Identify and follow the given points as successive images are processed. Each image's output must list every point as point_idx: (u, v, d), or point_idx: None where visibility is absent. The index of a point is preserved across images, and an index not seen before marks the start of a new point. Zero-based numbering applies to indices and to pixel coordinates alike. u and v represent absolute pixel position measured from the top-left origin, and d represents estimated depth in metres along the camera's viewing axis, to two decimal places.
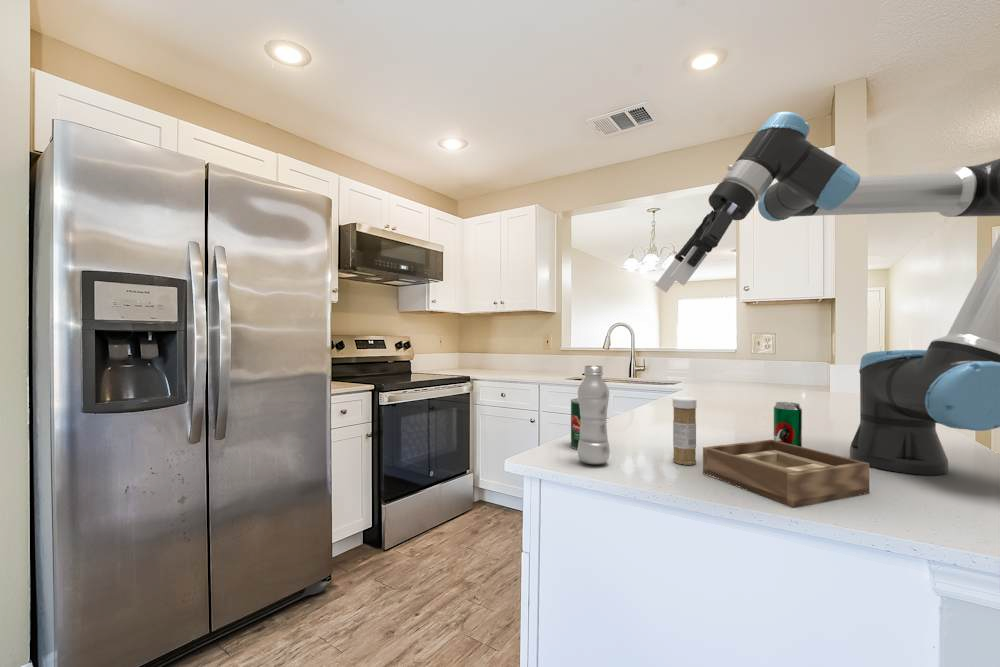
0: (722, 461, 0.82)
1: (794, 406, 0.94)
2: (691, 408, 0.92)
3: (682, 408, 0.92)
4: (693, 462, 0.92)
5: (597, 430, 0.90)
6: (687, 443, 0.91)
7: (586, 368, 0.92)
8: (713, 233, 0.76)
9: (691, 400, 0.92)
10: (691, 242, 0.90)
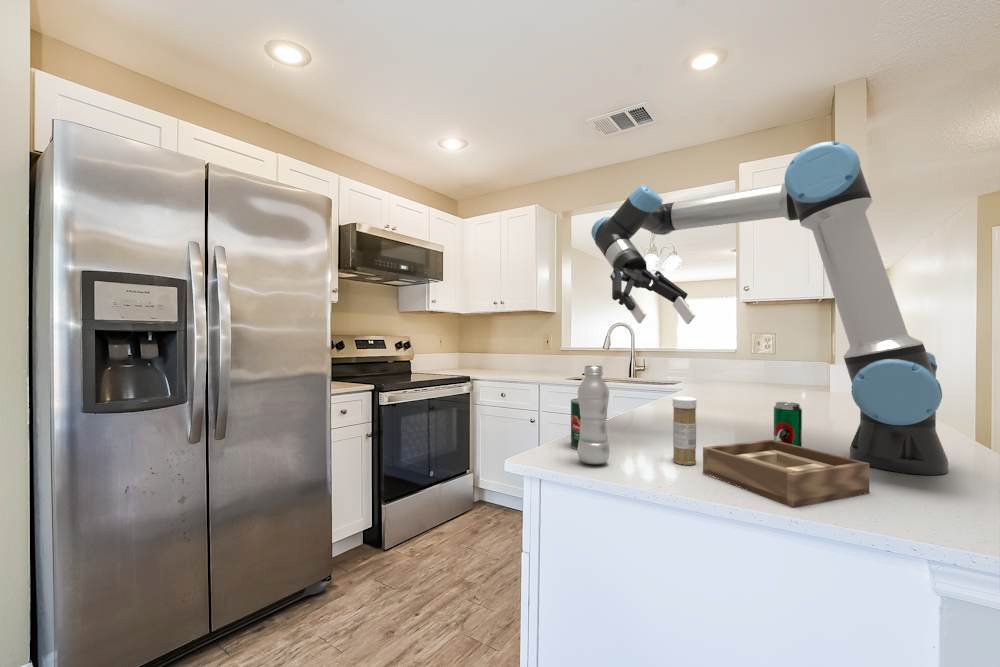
0: (722, 461, 0.82)
1: (794, 406, 0.94)
2: (691, 408, 0.92)
3: (682, 408, 0.92)
4: (693, 462, 0.92)
5: (597, 430, 0.90)
6: (687, 443, 0.91)
7: (586, 368, 0.92)
8: (613, 291, 1.04)
9: (691, 400, 0.92)
10: (659, 292, 1.10)
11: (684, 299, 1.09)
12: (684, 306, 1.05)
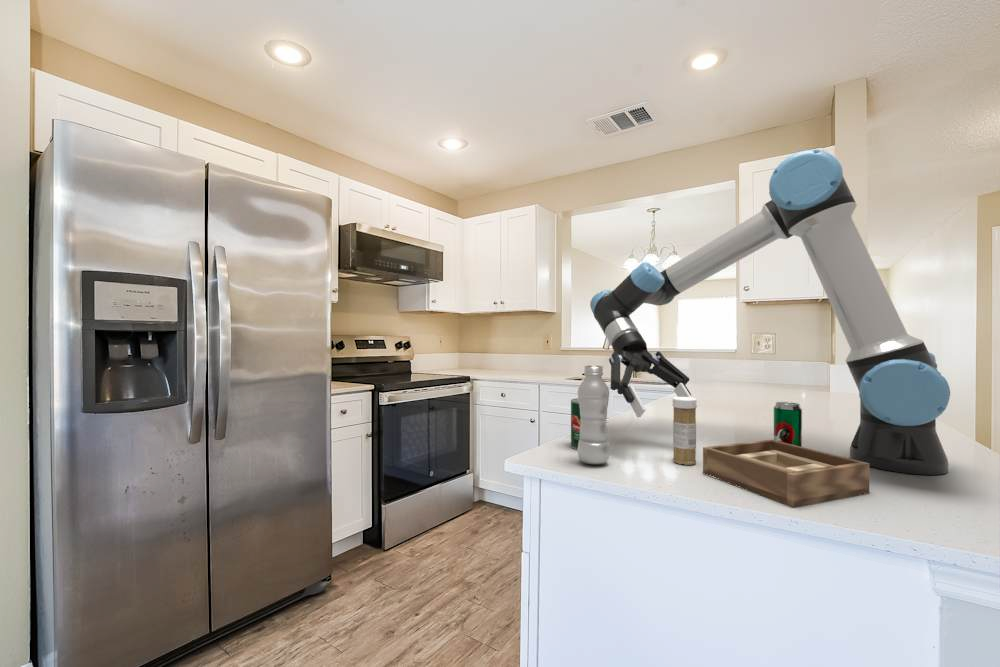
0: (722, 461, 0.82)
1: (794, 406, 0.94)
2: (691, 408, 0.92)
3: (682, 408, 0.92)
4: (693, 462, 0.92)
5: (597, 430, 0.90)
6: (687, 443, 0.91)
7: (586, 368, 0.92)
8: (612, 381, 1.00)
9: (691, 400, 0.92)
10: (659, 376, 1.06)
11: (686, 383, 1.06)
12: (686, 394, 1.01)
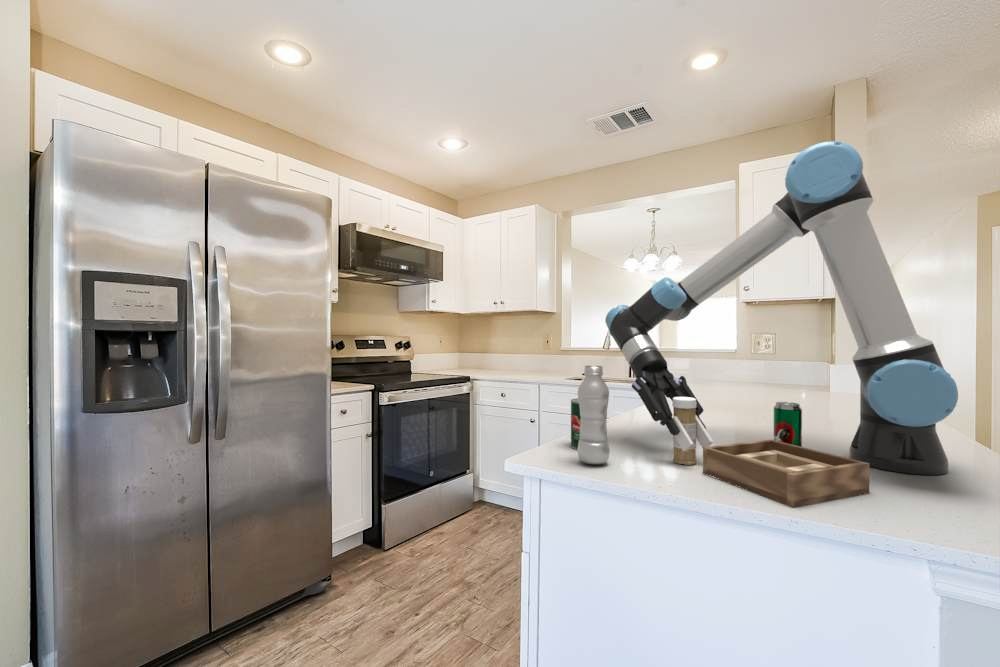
0: (722, 461, 0.82)
1: (794, 406, 0.94)
2: (691, 408, 0.91)
3: (682, 408, 0.92)
4: (693, 462, 0.92)
5: (597, 430, 0.90)
6: None
7: (586, 368, 0.92)
8: (652, 412, 0.94)
9: (691, 400, 0.92)
10: None
11: (698, 415, 0.97)
12: (700, 428, 0.92)
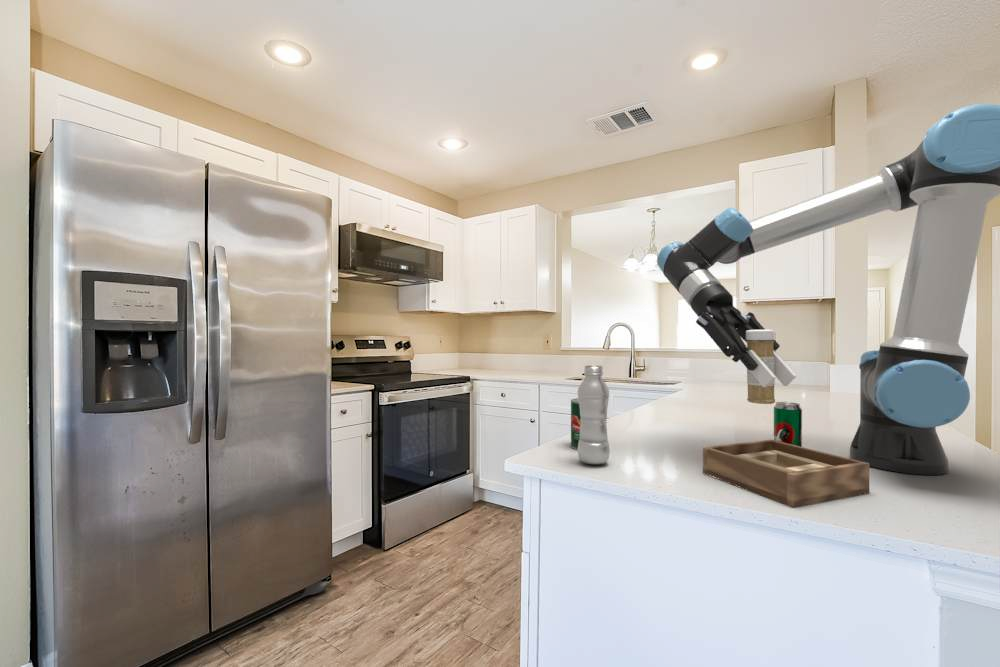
0: (722, 461, 0.82)
1: (794, 406, 0.94)
2: (769, 339, 0.81)
3: (759, 340, 0.82)
4: (772, 400, 0.81)
5: (597, 430, 0.90)
6: None
7: (586, 368, 0.92)
8: (724, 346, 0.84)
9: (769, 330, 0.81)
10: (745, 338, 0.89)
11: (774, 351, 0.86)
12: (779, 363, 0.82)
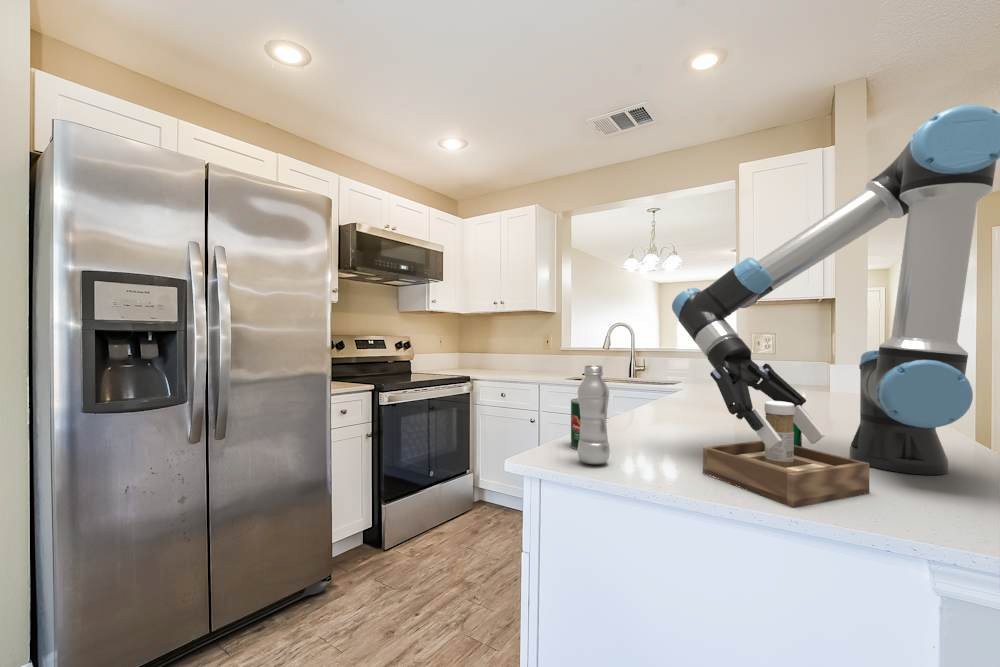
0: (722, 461, 0.82)
1: None
2: (789, 414, 0.79)
3: (779, 415, 0.79)
4: None
5: (597, 430, 0.90)
6: (785, 455, 0.79)
7: (586, 368, 0.92)
8: (729, 403, 0.81)
9: (789, 405, 0.79)
10: (768, 394, 0.87)
11: None
12: (807, 420, 0.82)
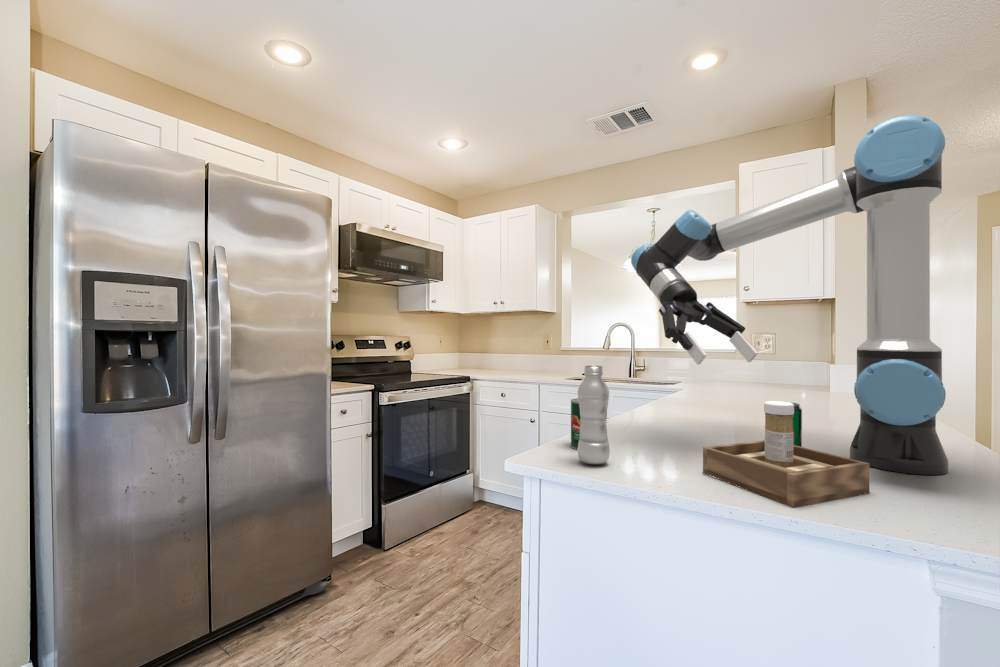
0: (722, 461, 0.82)
1: (794, 406, 0.94)
2: (789, 414, 0.79)
3: (778, 415, 0.79)
4: None
5: (597, 430, 0.90)
6: (784, 455, 0.79)
7: (586, 368, 0.92)
8: (666, 329, 0.94)
9: (789, 405, 0.79)
10: (713, 327, 1.00)
11: (741, 333, 1.00)
12: (744, 342, 0.95)
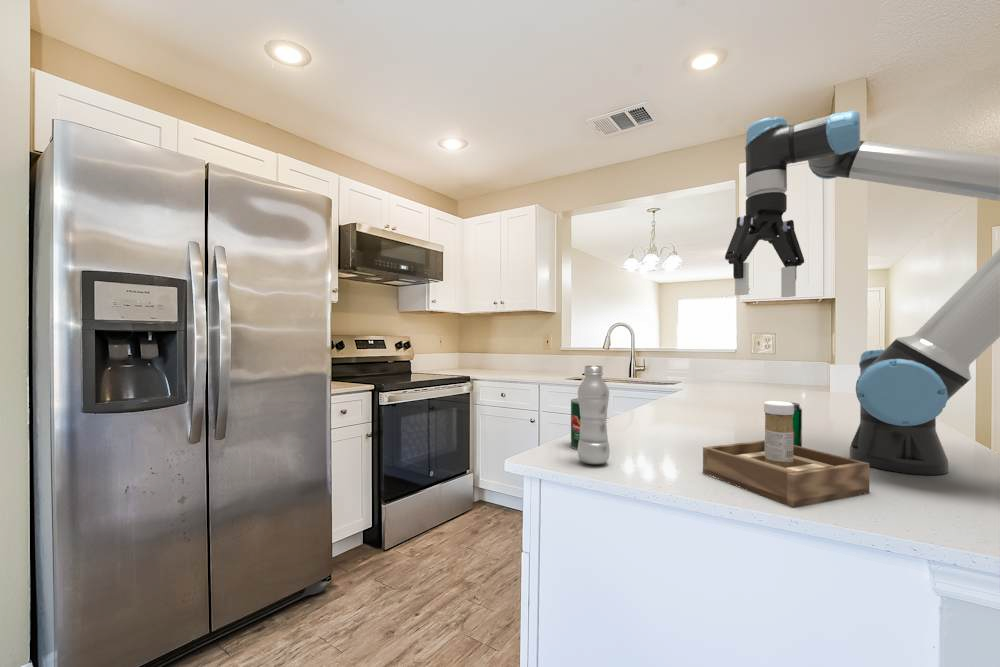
0: (722, 461, 0.82)
1: (794, 406, 0.94)
2: (789, 414, 0.79)
3: (778, 415, 0.79)
4: None
5: (597, 430, 0.90)
6: (784, 455, 0.79)
7: (586, 368, 0.92)
8: (730, 250, 0.93)
9: (789, 405, 0.79)
10: (776, 249, 0.98)
11: None
12: (791, 280, 0.97)
